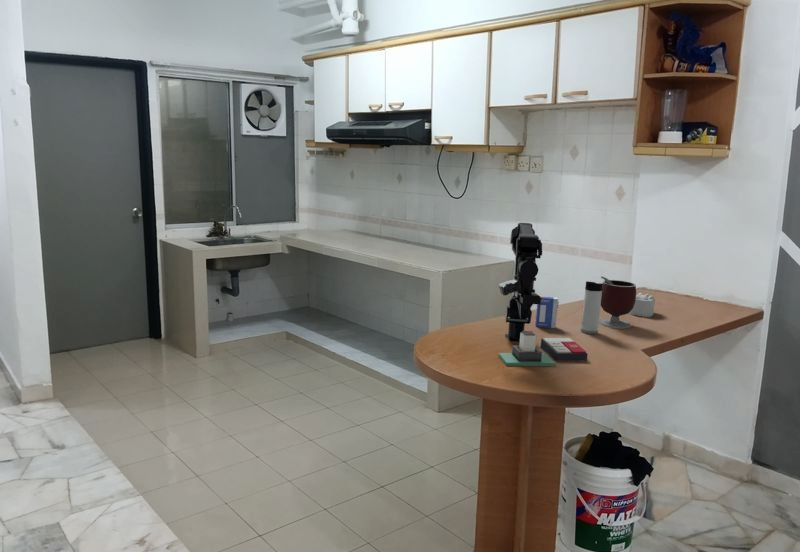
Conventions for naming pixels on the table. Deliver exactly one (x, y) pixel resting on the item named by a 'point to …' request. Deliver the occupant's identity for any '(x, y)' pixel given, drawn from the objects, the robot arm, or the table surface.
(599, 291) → the travel mug
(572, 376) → the table surface
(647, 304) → the lumpy-topped squat cylinder
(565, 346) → the dark panelled flat block
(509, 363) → the board
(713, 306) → the table surface
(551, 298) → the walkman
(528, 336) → the plug
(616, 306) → the mate gourd
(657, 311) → the table surface
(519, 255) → the robot arm
